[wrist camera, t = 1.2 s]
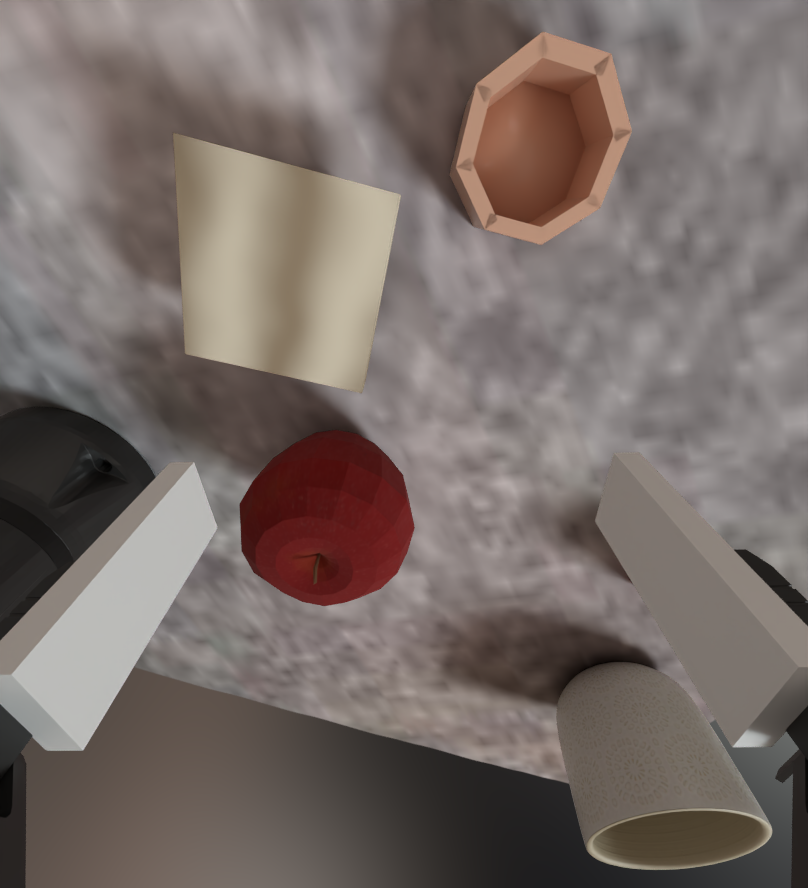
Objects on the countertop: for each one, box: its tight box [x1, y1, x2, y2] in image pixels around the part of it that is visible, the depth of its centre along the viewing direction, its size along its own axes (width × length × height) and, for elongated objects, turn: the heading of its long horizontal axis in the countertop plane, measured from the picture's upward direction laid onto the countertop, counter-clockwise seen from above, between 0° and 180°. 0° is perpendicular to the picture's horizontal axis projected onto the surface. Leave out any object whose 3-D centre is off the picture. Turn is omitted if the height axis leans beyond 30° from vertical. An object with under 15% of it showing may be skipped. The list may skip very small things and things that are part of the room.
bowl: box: [449, 32, 632, 245], centre depth 22 cm, size 8×8×4 cm
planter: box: [556, 662, 772, 870], centre depth 45 cm, size 17×17×15 cm
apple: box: [240, 430, 415, 606], centre depth 29 cm, size 12×12×13 cm
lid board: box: [173, 133, 401, 393], centre depth 23 cm, size 11×11×2 cm
